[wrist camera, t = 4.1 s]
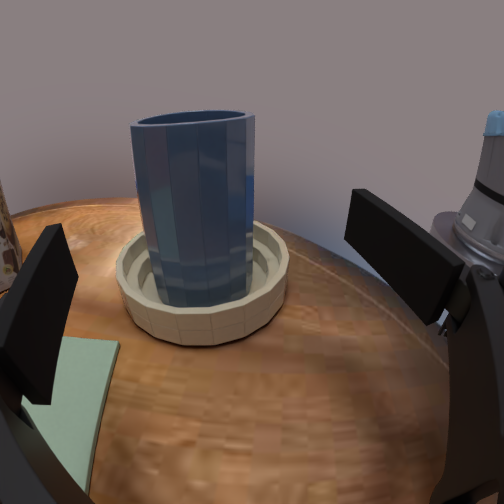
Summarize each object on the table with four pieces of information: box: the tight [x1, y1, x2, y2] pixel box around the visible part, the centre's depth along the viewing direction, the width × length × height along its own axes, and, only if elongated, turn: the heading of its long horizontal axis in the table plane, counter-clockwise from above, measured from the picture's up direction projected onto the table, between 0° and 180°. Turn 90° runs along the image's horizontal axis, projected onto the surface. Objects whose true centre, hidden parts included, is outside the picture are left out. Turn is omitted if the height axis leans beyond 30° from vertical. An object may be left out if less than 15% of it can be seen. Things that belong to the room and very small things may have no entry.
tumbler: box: [129, 110, 255, 308], centre depth 22 cm, size 8×8×14 cm
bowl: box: [116, 220, 290, 345], centre depth 25 cm, size 14×14×4 cm
